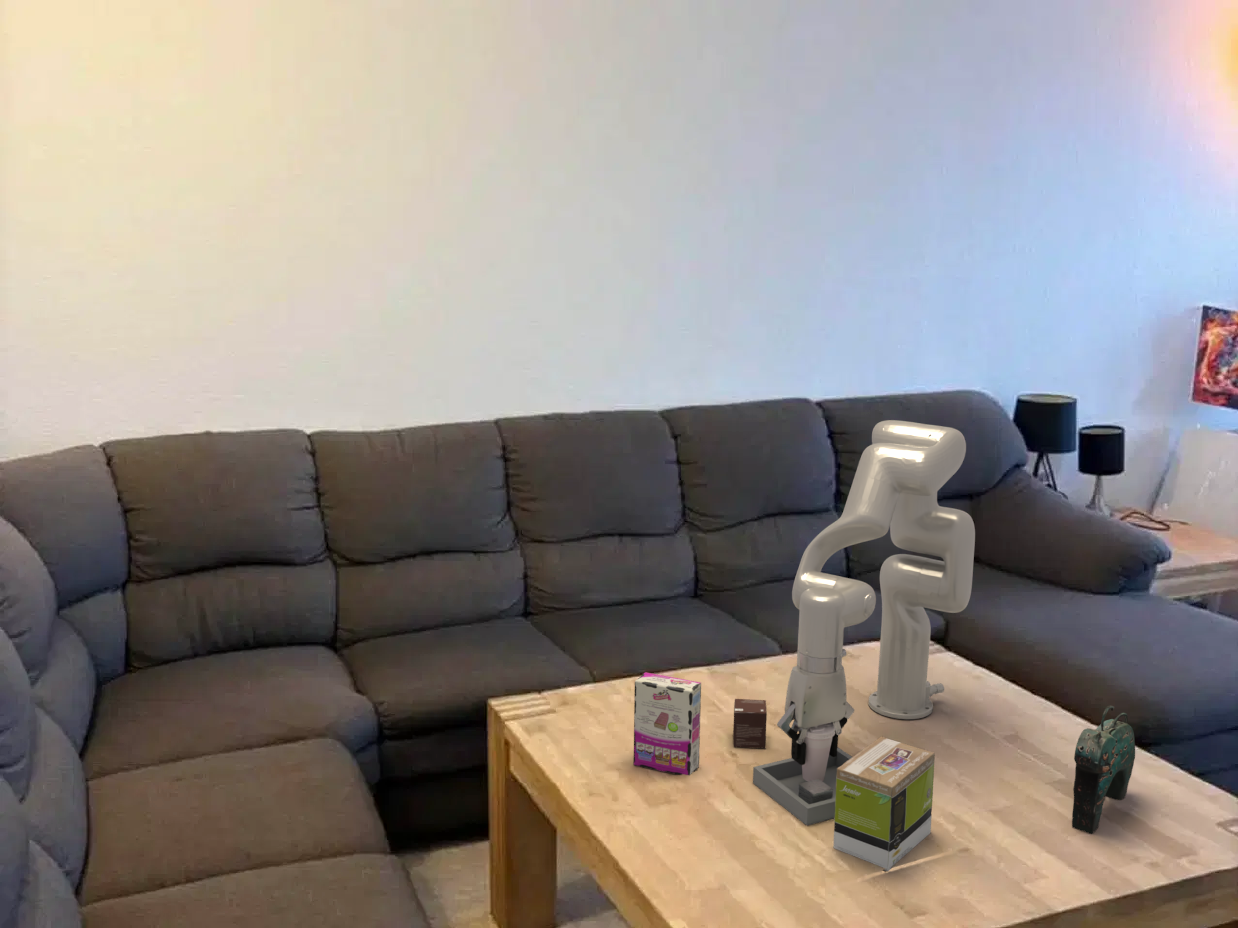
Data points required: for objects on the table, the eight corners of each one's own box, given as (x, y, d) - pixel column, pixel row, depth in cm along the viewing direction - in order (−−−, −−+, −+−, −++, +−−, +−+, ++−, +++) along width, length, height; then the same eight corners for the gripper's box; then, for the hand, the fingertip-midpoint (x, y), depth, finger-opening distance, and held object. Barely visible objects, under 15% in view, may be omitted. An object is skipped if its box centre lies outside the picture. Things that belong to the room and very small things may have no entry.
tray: (836, 765, 225) (837, 746, 224) (893, 804, 211) (895, 785, 210) (752, 785, 217) (753, 766, 216) (806, 828, 203) (807, 808, 202)
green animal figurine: (1094, 841, 201) (1108, 726, 196) (1055, 827, 205) (1067, 714, 200) (1137, 796, 216) (1150, 688, 211) (1100, 784, 220) (1112, 678, 215)
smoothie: (789, 780, 215) (793, 705, 212) (802, 765, 221) (806, 692, 217) (825, 789, 212) (830, 713, 209) (836, 774, 218) (842, 699, 215)
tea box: (876, 815, 208) (881, 733, 205) (931, 835, 202) (938, 751, 198) (830, 851, 197) (835, 765, 193) (888, 874, 190) (894, 785, 187)
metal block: (817, 800, 211) (818, 778, 210) (831, 810, 208) (833, 789, 207) (797, 805, 209) (799, 783, 209) (812, 816, 206) (813, 794, 205)
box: (765, 735, 237) (766, 699, 235) (765, 749, 231) (767, 713, 229) (732, 733, 237) (734, 697, 236) (732, 747, 231) (734, 711, 230)
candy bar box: (700, 766, 224) (703, 681, 220) (689, 778, 219) (692, 691, 216) (643, 753, 228) (645, 670, 225) (631, 765, 224) (633, 680, 220)
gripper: (846, 644, 219) (841, 739, 223) (764, 660, 211) (760, 758, 215) (873, 659, 212) (867, 756, 216) (789, 676, 204) (785, 777, 209)
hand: (814, 756), depth 216 cm, fingers closed on smoothie, 5 cm apart
